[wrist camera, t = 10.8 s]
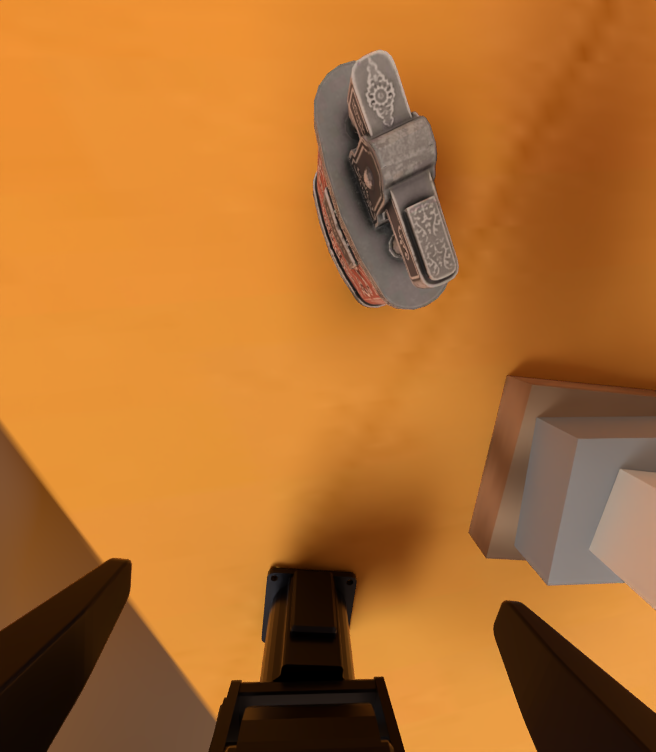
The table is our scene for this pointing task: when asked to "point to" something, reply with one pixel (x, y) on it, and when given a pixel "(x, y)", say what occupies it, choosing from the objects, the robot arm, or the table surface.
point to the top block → (576, 491)
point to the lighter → (379, 188)
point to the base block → (514, 441)
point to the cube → (630, 532)
